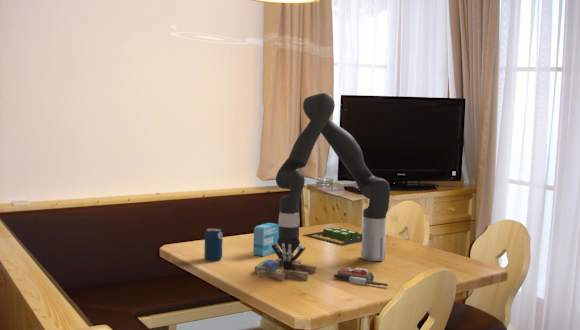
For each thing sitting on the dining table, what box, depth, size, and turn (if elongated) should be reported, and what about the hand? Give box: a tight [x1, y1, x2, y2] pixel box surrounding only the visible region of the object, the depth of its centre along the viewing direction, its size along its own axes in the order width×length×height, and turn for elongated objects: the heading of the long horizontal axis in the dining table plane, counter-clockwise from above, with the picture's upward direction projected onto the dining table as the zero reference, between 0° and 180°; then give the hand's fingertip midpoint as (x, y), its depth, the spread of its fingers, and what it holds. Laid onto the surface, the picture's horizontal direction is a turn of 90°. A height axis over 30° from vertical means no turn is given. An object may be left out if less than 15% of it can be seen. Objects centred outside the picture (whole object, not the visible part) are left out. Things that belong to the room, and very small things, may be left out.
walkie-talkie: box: [333, 267, 389, 287], centre depth 211 cm, size 9×4×20 cm
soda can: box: [203, 227, 224, 262], centre depth 233 cm, size 7×7×12 cm
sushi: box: [302, 226, 362, 247], centre depth 280 cm, size 25×25×4 cm
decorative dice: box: [263, 259, 278, 272], centre depth 219 cm, size 4×4×4 cm
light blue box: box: [253, 222, 279, 257], centre depth 245 cm, size 12×4×12 cm, turn 149°
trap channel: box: [254, 257, 317, 282], centre depth 218 cm, size 20×20×2 cm
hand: (287, 270), depth 218 cm, fingers closed
